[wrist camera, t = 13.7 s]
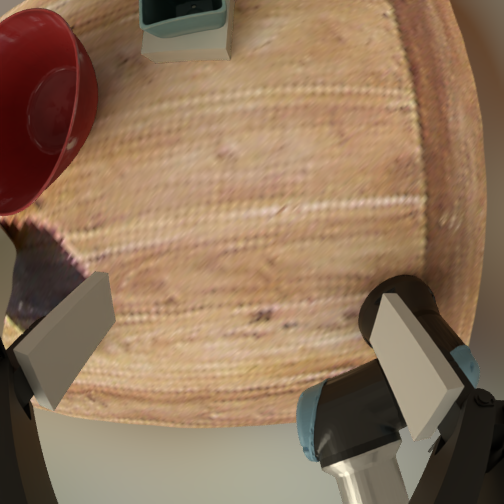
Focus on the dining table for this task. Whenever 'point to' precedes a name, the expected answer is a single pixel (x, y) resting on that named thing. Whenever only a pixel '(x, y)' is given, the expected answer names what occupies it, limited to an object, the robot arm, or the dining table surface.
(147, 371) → the dining table surface
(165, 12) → the flower pot
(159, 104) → the dining table surface
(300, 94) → the dining table surface
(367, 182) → the dining table surface
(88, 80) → the mixing bowl
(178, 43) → the stone block
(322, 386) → the robot arm
